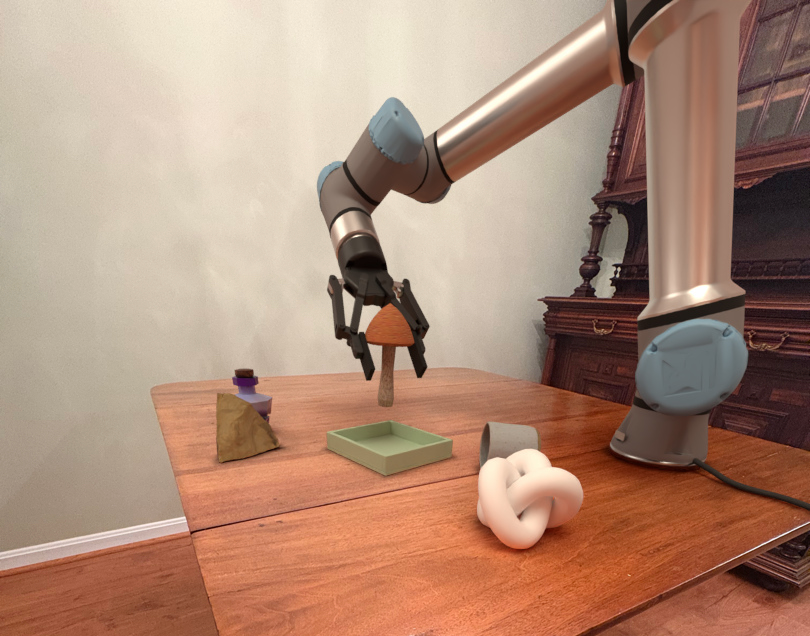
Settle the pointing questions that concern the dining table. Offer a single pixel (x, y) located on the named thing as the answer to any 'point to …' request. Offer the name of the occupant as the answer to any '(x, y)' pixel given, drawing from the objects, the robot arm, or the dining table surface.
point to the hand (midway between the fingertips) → (397, 373)
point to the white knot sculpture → (525, 497)
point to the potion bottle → (252, 392)
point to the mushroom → (388, 346)
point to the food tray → (389, 446)
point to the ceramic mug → (506, 440)
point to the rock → (241, 429)
